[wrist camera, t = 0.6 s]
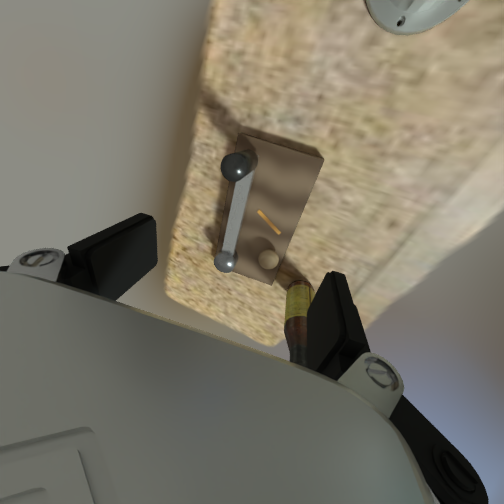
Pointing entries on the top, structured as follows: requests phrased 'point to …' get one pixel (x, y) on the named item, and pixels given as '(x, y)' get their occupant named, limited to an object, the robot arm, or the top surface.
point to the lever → (236, 203)
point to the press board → (270, 206)
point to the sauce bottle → (297, 320)
